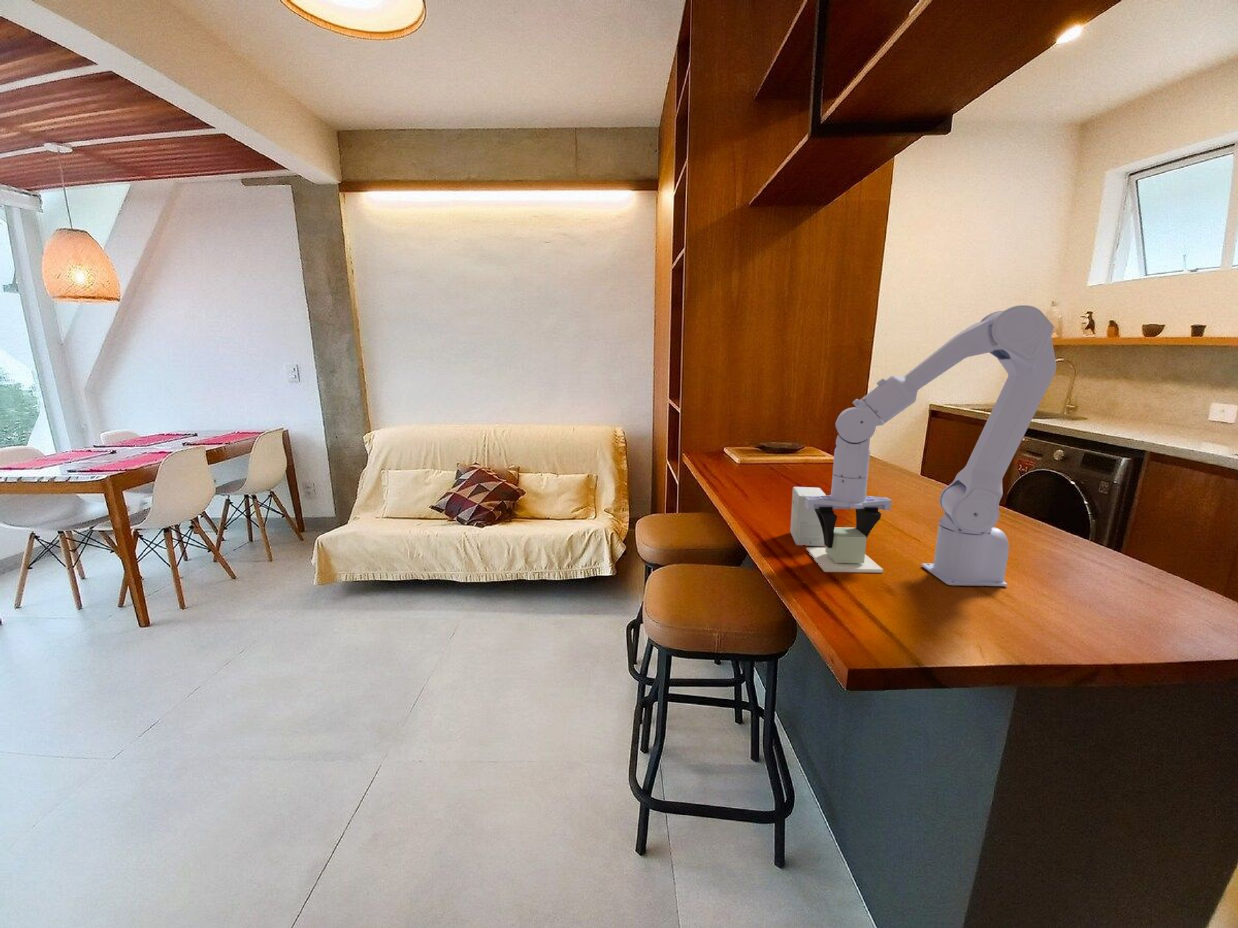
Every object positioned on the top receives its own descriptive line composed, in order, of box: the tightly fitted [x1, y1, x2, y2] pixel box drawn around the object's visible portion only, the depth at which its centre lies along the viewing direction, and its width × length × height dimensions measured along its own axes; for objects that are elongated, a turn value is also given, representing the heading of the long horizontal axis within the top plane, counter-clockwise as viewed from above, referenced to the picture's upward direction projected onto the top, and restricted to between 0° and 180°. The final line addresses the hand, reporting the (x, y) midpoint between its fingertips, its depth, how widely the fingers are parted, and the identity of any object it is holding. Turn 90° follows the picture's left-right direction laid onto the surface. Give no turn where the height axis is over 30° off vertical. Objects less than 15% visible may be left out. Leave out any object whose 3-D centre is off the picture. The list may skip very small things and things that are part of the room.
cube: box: [825, 526, 868, 563], centre depth 87 cm, size 5×5×5 cm
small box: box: [789, 486, 826, 547], centre depth 98 cm, size 8×6×10 cm
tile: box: [805, 546, 884, 574], centre depth 88 cm, size 10×10×1 cm
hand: (843, 546), depth 87 cm, fingers closed on cube, 5 cm apart
